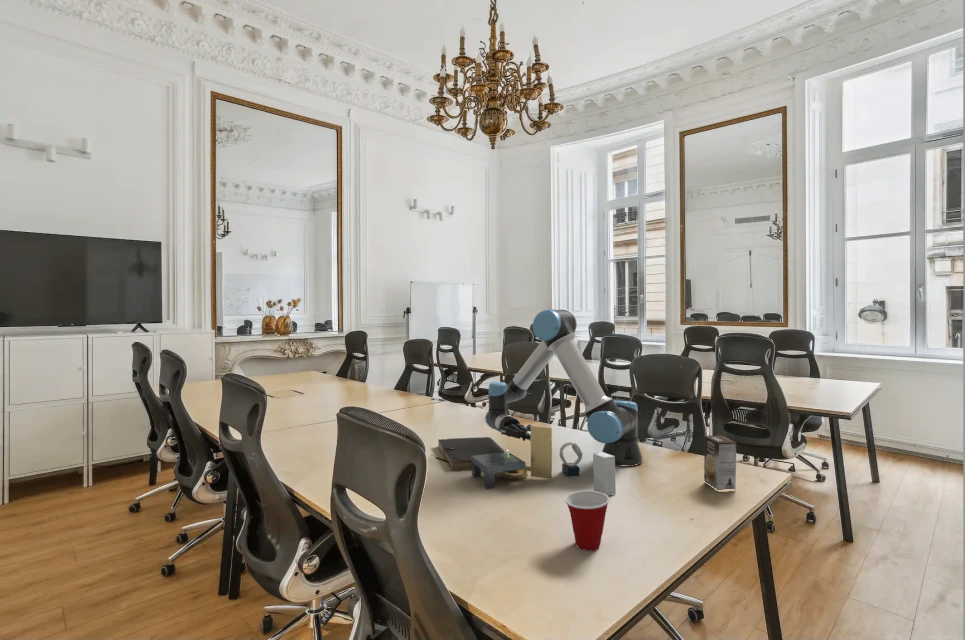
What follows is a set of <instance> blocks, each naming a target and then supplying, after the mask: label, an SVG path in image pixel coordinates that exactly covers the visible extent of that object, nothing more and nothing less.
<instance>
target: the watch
mask: <svg viewBox="0 0 965 640" xmlns="http://www.w3.org/2000/svg"><path fill="white" fill-rule="evenodd" d="M568 446H571V447H572V448H571V449H572V450H573V452H574V453H575V455H576V456H577V459H576V460H575V461H574V462H567V460H566V459H565V456H564V450H565V448H567V447H568ZM558 455H559V457H560V460H561V461H562V464H561V473H562V474H564V475H565V476H566V477H567V478H573V477H574V476H575V477H580V476H581V475H580V469H581V468H580V466H579V464H580V462H582V459H583V452H582V450H581V448H580V447H579V445H578V444H577V443H576V442H574V443H573V442H571V441H569V442H565V443H564V444H562V445H561V446H560V448H559V454H558Z"/></svg>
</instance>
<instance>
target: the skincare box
mask: <svg viewBox="0 0 965 640" xmlns="http://www.w3.org/2000/svg"><path fill="white" fill-rule="evenodd" d="M592 458H593V459H592V460H593V461H592V464H593V491H597V492H601V493H604V494H606V495H607V496H608V497H609V495H610V496H613V494H614V495H616V493H617V492H616V491H617V490H616V487H617V486H616V465H615V456H612V455H610V454H607V453H604V452H602V451H600V452H595V453H592Z"/></svg>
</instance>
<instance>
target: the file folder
mask: <svg viewBox="0 0 965 640" xmlns="http://www.w3.org/2000/svg"><path fill="white" fill-rule="evenodd" d="M437 440H438V446H437V447H438V448H439V451H440V452H441V454H442V453H443V454H444V455H445V456H444V455H443V454H442V455H443V457H444V458H443V459H444V460H446V459H447V460H448V461H449V462H448V461H447V460H446V461H447V462H448V463H449V465H450V468H451V471H453V472H454V471H465V470H467V471H468V470H469V471H470V470H472V462H471V456H476V455H484V454H493V453H501V452H504V451H505V450H504V448H502V447H501V446H500V445H499V444H498V443H497V442H496V441H495V440H494V439H493V438H491V437H489V436H483V437H482V436H481V437H462V438H461V437H460V438H459V437H458V438H456V437H455V438H454V437H453V438H447V439H446V438H445V439H444V438H443V439H437Z"/></svg>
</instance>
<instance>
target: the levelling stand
mask: <svg viewBox="0 0 965 640" xmlns="http://www.w3.org/2000/svg"><path fill="white" fill-rule="evenodd" d="M471 462H472V469H471V477H472V478H473V479H477V478H478V479H479V478H482V471H483V480H484V481H483V487H484V488H485V489H487V490H489V489H494V488H495V473H502V471H510V470H517V469H525V468H526V466H527V465H526V461H524V460H522V459H521V458H519V457H517V456H515V455H513V454H512V453H510V450H509V449H505V450H504V452H501V453H493V454H484V455H476V456H471Z"/></svg>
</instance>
